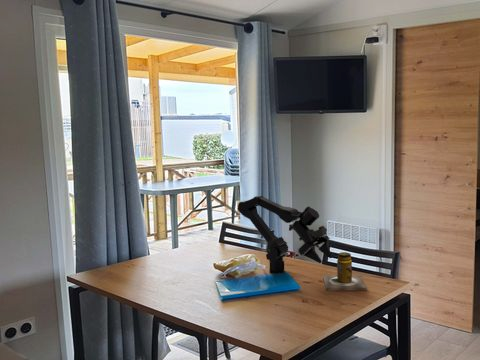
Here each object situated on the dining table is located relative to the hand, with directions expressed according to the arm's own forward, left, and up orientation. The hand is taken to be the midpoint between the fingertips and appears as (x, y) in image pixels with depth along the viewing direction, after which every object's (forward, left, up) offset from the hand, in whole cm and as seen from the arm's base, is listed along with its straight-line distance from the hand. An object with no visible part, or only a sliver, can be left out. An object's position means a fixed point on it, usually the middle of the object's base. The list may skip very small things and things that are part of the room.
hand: (326, 260), depth 206 cm
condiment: (+6, -5, -8) cm, 11 cm away
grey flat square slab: (+7, -4, -9) cm, 12 cm away
